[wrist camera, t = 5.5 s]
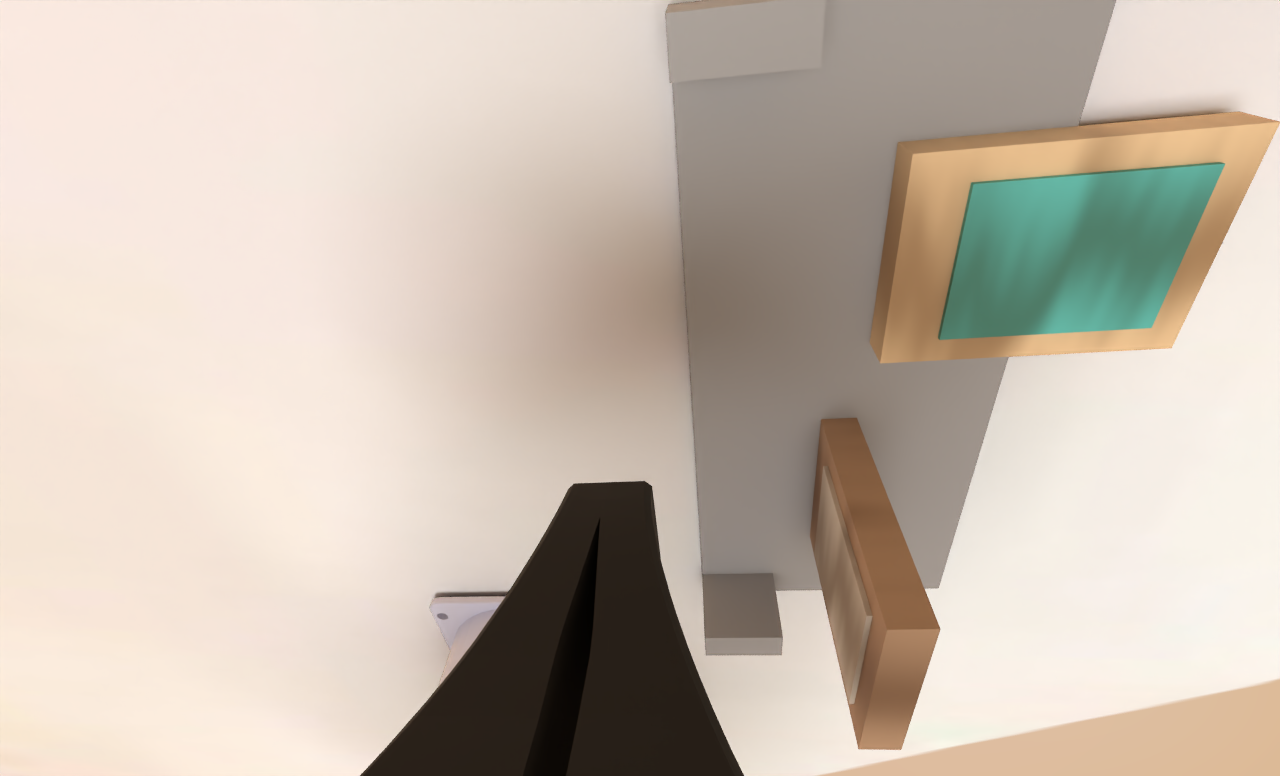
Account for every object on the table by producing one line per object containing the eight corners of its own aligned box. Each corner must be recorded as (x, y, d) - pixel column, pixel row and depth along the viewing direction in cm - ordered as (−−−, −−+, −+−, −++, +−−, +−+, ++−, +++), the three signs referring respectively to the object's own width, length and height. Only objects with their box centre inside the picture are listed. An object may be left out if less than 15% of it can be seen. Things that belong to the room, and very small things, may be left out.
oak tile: (869, 342, 19) (1144, 327, 18) (881, 366, 18) (1174, 351, 17) (897, 142, 15) (1239, 111, 14) (914, 155, 14) (1285, 123, 13)
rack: (934, 578, 26) (966, 654, 23) (703, 582, 27) (705, 655, 24) (1116, -48, 13) (1237, -52, 10) (668, 4, 14) (665, 13, 11)
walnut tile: (840, 535, 24) (901, 749, 17) (806, 536, 24) (853, 748, 17) (856, 417, 20) (940, 629, 14) (816, 419, 20) (880, 629, 14)
